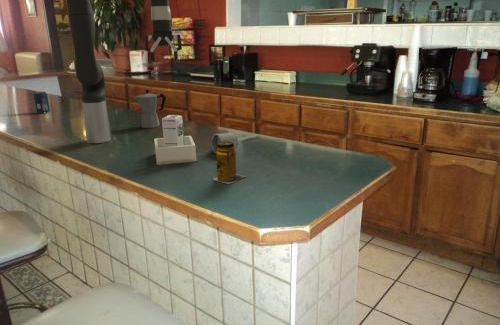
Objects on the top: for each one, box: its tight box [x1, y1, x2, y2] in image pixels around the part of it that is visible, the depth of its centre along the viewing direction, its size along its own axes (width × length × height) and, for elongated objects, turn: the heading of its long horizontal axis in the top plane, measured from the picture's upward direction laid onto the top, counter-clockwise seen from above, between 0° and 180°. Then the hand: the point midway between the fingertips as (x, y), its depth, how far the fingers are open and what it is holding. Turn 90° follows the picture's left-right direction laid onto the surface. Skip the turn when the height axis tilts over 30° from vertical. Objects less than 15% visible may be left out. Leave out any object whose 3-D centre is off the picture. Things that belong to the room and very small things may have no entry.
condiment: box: [212, 141, 247, 185], centre depth 125 cm, size 7×8×12 cm
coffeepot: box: [133, 89, 167, 129], centre depth 194 cm, size 15×9×18 cm, turn 113°
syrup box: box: [161, 114, 185, 147], centre depth 146 cm, size 6×6×14 cm
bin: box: [154, 135, 197, 166], centre depth 147 cm, size 14×14×6 cm
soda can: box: [33, 91, 51, 114], centre depth 229 cm, size 7×7×12 cm
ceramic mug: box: [211, 132, 239, 154], centre depth 154 cm, size 11×8×8 cm
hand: (164, 61), depth 160 cm, fingers open, 8 cm apart
